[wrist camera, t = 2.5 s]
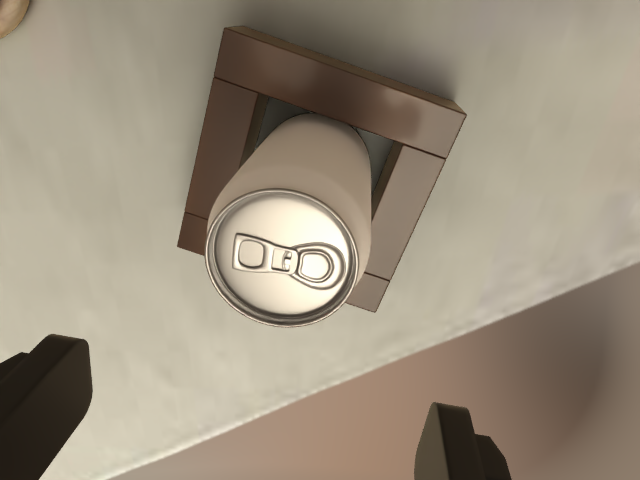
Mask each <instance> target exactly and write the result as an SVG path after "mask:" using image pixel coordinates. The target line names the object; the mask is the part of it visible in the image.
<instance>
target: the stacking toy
mask: <svg viewBox="0 0 640 480" xmlns="http://www.w3.org/2000/svg"><path fill="white" fill-rule="evenodd" d="M29 1H30V0H0V39H1V38H3V37H4V36H6V35H8V34H9V33H10V32H11V31H13V30H14V29H15V28H16V27H17V26H18V24H19V23H20V22H21V20H22V19H23V17H24V15H25V13H26V11H27V8H28V5H29Z"/></svg>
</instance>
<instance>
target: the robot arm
mask: <svg viewBox="0 0 640 480" xmlns="http://www.w3.org/2000/svg"><path fill="white" fill-rule="evenodd" d="M92 392H93V389H92V377H91V366H90V355H89V346H88V343H87V341H86V340H84V339H79V338H73V337H68V336H62V335H56V334H50V335H48V336H47V337H45V338H44V339H43V340H42V341H41V342H40V343H39V344H38V345H37V346H36V347H35V348H34V349H33V350H32V351H31V352H30V353H29V354H28V353H23V352H21V353H19V354H17V355H15V356H13V357H11V358H9V359H7V360H6V361H4V362H2V363H0V480H39V479H40V477H41V476H42V474H43V473H44V472H45V470H46V469H47V468H48V466H49V465H50V463H51V462H52V461H53V459H54V458H55V457H56V455H57V454H58V452H59V451H60V450H61V448H62V447H63V445H64V444H65V443H66V441H67V440H68V439H69V437H70V436H71V434H72V433H73V432H74V430H75V429H76V428H77V426H78V425H79V423H80V422H81V421H82V419H83V418H84V416H85V415H86V413H87V411H88V408H89V406H90V403H91V399H92ZM414 477H415V480H511V476H510V473H509V470H508V466H507V463H506V459H505V457H504V456H503V455H502V453H501V452H500V450H499V449H498V448H497V446H496V445H495V444H494V442H493V441H492V439H491V438H490V437H489V436H483V435H478V434H475V433H474V429H473V425H472V421H471V416H470V413H469V410H468V409H467V408H465V407H459V406H453V405H447V404H442V403H436V402H433V403H432V405H431V407H430V410H429V413H428V416H427V419H426V422H425V426H424V429H423V432H422V435H421V438H420V442H419V445H418V448H417V452H416V458H415V469H414Z"/></svg>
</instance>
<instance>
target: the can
mask: <svg viewBox="0 0 640 480" xmlns="http://www.w3.org/2000/svg"><path fill="white" fill-rule="evenodd" d="M370 246H371V167H370V158H369V154H368V151H367V148H366V146H365V144H364V142H363V141H362V139H361V138H360V136H359V135H358V134H357V132H356V131H355V130H354V129H353V128H351V127H350V126H349V125H348V124H346V123H343V122H340V121H338V120H335V119H332V118H329V117H326V116H323V115H321V114H318V113H309V114H302V115H298V116H295V117H292V118H290V119H288V120H286V121H285V122H283V123H282V124H280V125H279V126H278V127H276V128H275V129H274V130H273V131H272V132H271V133H270V135H269V136H268V137H267V138H266V139H265V140H264V141H263V142H262V144H261V145H260V146H259V147H258V148H257V149H256V150H255V152H254V153H253V154H252V155H251V156H250V157H249V159H248V160H247V161H246V162H245V163H244V164H243V166H242V167H241V168H240V169H239V170H238V172H237V173H236V174H235V175H234V176H233V178H232V179H231V180H230V181H229V182H228V184H227V185H226V186H225V187H224V189H223V190H222V192H221V193H220V194H219V196H218V198H217V199H216V201H215V203H214V205H213V207H212V210H211V213H210V216H209V220H208V226H207V237H206V241H205V263H206V268H207V271H208V274H209V277H210V279H211V281H212V283H213V285H214V287H215V289H216V290H217V292H218V293H219V294H220V296H221V297H222V298H223V299H224V300H225V301H226V302H227V303H228V304H229V305H230V306H231V307H232V308H234V309H235V310H236V311H238V312H239V313H241V314H242V315H244V316H246V317H248V318H250V319H252V320H254V321H257V322H259V323H262V324H266V325H270V326H276V327H301V326H306V325H310V324H313V323H316V322H319V321H321V320H323V319H325V318H327V317H329V316H330V315H332V314H333V313H334V312H336V311H337V310H338V309H339V308H340V307H341V306H342V305H343V304H344V303H345V302H346V300H347V299H348V298H349V296H350V295H351V293H352V291H353V289H354V287H355V286H356V285H357V283H358V282H359V280H360V279H361V277H362V275H363V273H364V271H365V268H366V266H367V262H368V258H369V254H370Z"/></svg>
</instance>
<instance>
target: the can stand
mask: <svg viewBox="0 0 640 480" xmlns="http://www.w3.org/2000/svg"><path fill="white" fill-rule="evenodd" d="M269 96H270V97H272V98H275V99H278V100H281V101H284V102H287V103H289V104H292V105H295V106H298V107H301V108H304V109H306V110H309V111H312V112H315V113H318V114H321V115H323V116H326V117H329V118H332V119H335V120H338V121H340V122H343V123H346V124H349V125H352V126H355V127H357V128H360V129H363V130H366V131H369V132H372V133H374V134H377V135H380V136H383V137H386V138H389V139H391V140H394V143H393V146H392V148H391V151H390V153H389V156H388V158H387V161H386V163H385V166H384V168H383V171H382V173H381V175H380V178H379V180H378V183H377V185H376V188H375V190H374V193H373V195H372V198H371V246H370V254H369V258H368V262H367V266H366V268H365V271H364V273H363V275H362V277H361V279H360V280H359V282H358V283H357V285H356V286H355V287H354V289H353V291H352V293H351V295H350V296H349V298H348V299H347V300H346V302H345V303H347V304H350V305H353V306H356V307H359V308H362V309H365V310H368V311H371V312H374V313H375V312H376V311H377V309H378V307H379V304H380V302H381V300H382V298H383V296H384V294H385V291H386V289H387V287H388V285H389V283H390V280H391V278H392V276H393V274H394V272H395V270H396V268H397V265H398V263H399V261H400V259H401V257H402V255H403V252H404V250H405V248H406V246H407V244H408V242H409V239H410V237H411V235H412V233H413V231H414V229H415V226H416V224H417V222H418V220H419V218H420V215H421V213H422V211H423V209H424V207H425V205H426V202H427V200H428V198H429V196H430V194H431V192H432V189H433V187H434V185H435V183H436V181H437V179H438V176H439V174H440V172H441V170H442V168H443V166H444V163H445V161H446V158H447V157H448V155H449V153H450V150H451V148H452V146H453V144H454V142H455V140H456V137H457V135H458V133H459V131H460V129H461V127H462V124H463V122H464V120H465V118H466V116H467V114H466V113H465V112H464V111H463V110H462V109H461V108H460V107H459V106H458V105H457V104H456V103H455V102H453V101H450V100H448V99H445V98H442V97H439V96H437V95H434V94H431V93H428V92H425V91H423V90H420V89H417V88H414V87H412V86H409V85H406V84H403V83H400V82H398V81H395V80H392V79H389V78H387V77H384V76H381V75H378V74H375V73H373V72H370V71H367V70H364V69H362V68H359V67H356V66H353V65H350V64H348V63H345V62H342V61H339V60H336V59H334V58H331V57H328V56H325V55H323V54H320V53H317V52H314V51H311V50H309V49H306V48H303V47H300V46H298V45H295V44H292V43H289V42H286V41H284V40H281V39H278V38H275V37H273V36H270V35H267V34H264V33H261V32H259V31H256V30H253V29H250V28H248V27H245V26H238V27H226V28H224V31H223V35H222V40H221V45H220V49H219V54H218V59H217V63H216V68H215V72H214V78H213V82H212V86H211V91H210V95H209V100H208V105H207V109H206V114H205V119H204V123H203V128H202V133H201V137H200V142H199V146H198V151H197V156H196V160H195V165H194V170H193V174H192V179H191V184H190V188H189V193H188V198H187V202H186V207H185V212H184V217H183V221H182V226H181V230H180V235H179V240H178V244H177V247H179V248H182V249H185V250H188V251H191V252H194V253H197V254H200V255H203V256H205V241H206V237H207V226H208V220H209V216H210V213H211V210H212V207H213V205H214V203H215V201H216V199H217V198H218V196H219V194H220V193H221V192H222V190H223V189H224V187H225V186H226V185H227V184H228V182H229V181H230V180H231V179H232V178H233V176H234V175H235V174H236V173H237V172H238V170H239V169H240V168H241V167H242V166H243V164H244V163H245V162H246V161H247V160H248V159H249V157H250V156H251V155H252V154H253V153H254V149H255V145H256V142H257V138H258V134H259V131H260V127H261V123H262V120H263V116H264V112H265V108H266V105H267V101H268V97H269Z"/></svg>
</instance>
